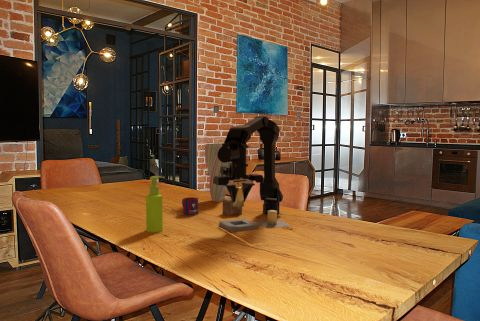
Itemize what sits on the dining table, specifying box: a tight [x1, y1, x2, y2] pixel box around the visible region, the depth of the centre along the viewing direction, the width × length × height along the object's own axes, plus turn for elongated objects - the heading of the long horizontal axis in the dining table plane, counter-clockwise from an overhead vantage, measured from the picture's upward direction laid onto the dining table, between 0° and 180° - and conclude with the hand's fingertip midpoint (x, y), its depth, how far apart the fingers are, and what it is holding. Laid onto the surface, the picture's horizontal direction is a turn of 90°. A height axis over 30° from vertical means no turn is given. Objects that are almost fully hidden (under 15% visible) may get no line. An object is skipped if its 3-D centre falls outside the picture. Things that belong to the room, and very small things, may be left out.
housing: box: [222, 197, 243, 217], centre depth 169 cm, size 6×6×7 cm
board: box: [253, 210, 292, 229], centre depth 151 cm, size 11×11×6 cm
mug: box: [181, 196, 199, 216], centre depth 172 cm, size 7×10×7 cm
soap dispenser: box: [145, 175, 164, 234], centre depth 142 cm, size 6×7×20 cm
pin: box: [233, 186, 245, 208], centre depth 145 cm, size 4×4×7 cm
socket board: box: [218, 218, 259, 234], centre depth 146 cm, size 11×11×2 cm
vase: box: [204, 142, 231, 203], centre depth 203 cm, size 14×14×30 cm
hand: (238, 202), depth 145 cm, fingers closed on pin, 4 cm apart
